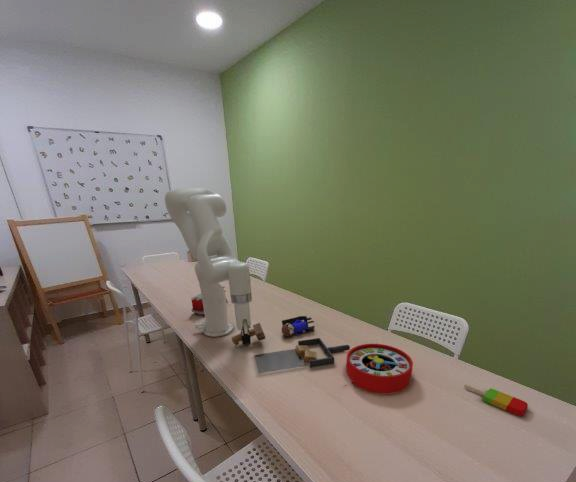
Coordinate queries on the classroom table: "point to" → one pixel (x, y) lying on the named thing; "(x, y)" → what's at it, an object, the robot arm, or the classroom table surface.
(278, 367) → the tray
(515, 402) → the popsicle
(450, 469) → the classroom table surface
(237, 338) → the brush
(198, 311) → the toy fire truck
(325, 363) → the dustpan
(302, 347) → the cork chip
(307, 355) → the cork chip
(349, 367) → the toy clock
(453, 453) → the classroom table surface
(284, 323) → the character figurine
